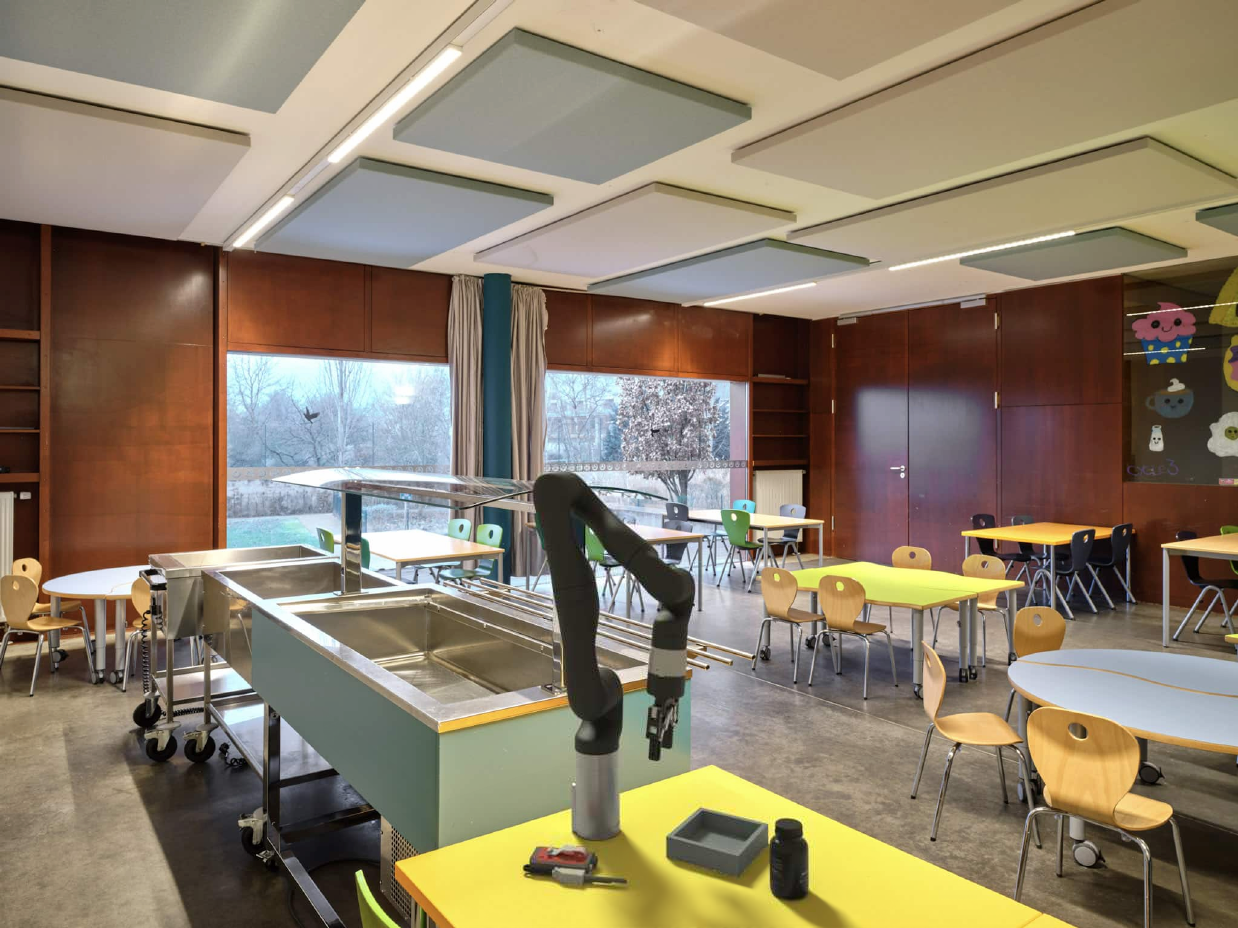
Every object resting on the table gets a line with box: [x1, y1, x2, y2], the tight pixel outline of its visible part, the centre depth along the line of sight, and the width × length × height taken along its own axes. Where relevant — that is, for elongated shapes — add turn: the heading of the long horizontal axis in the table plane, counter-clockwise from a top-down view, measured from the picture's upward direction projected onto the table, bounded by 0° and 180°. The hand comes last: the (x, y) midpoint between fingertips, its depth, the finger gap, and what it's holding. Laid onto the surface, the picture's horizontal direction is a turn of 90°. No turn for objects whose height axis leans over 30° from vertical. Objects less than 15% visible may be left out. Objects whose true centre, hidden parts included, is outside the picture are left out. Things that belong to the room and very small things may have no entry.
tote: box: [665, 806, 769, 879], centre depth 156 cm, size 15×15×4 cm
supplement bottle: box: [769, 817, 810, 901], centre depth 141 cm, size 7×7×12 cm
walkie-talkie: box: [522, 844, 628, 887], centre depth 148 cm, size 9×4×20 cm
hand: (660, 754), depth 155 cm, fingers open, 8 cm apart
